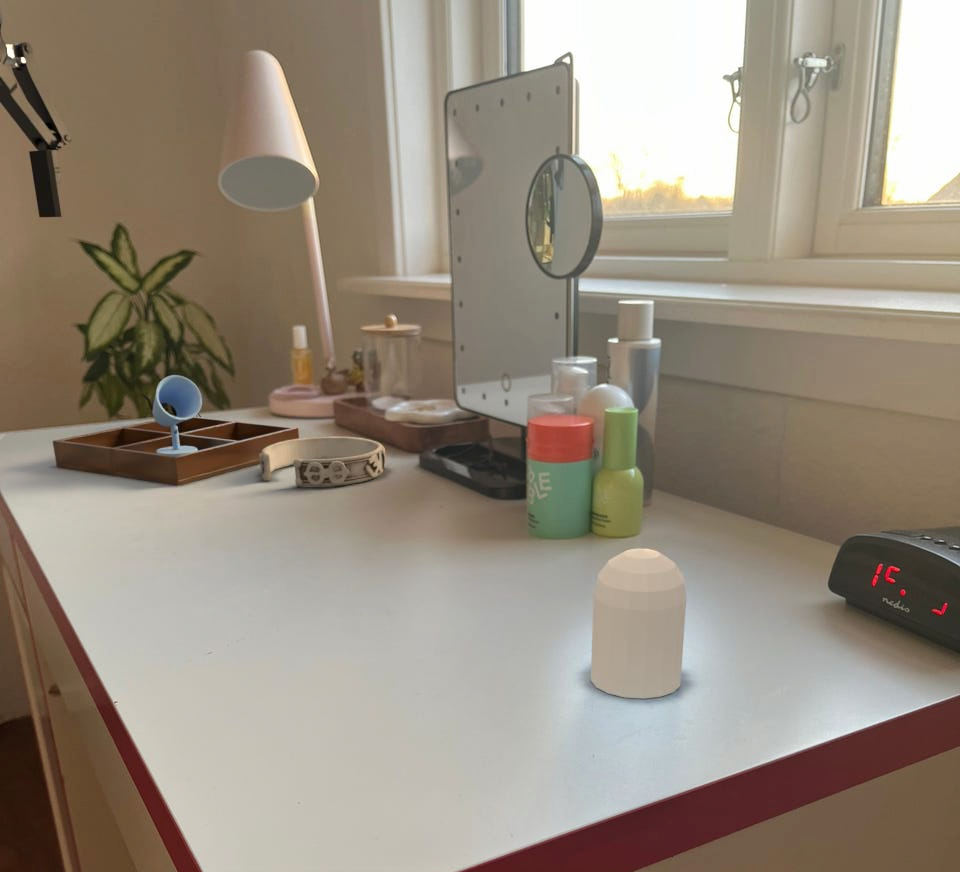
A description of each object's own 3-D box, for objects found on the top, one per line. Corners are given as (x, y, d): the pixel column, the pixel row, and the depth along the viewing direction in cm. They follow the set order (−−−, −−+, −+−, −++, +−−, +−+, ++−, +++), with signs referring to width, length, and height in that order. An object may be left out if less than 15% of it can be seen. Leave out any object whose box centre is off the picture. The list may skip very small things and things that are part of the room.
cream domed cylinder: (625, 655, 64) (631, 532, 61) (698, 678, 61) (708, 549, 58) (572, 680, 61) (575, 551, 58) (646, 706, 57) (653, 570, 54)
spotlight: (212, 467, 114) (190, 457, 119) (202, 375, 110) (179, 369, 116) (169, 473, 111) (148, 462, 117) (157, 379, 108) (136, 372, 113)
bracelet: (395, 483, 109) (394, 455, 108) (264, 491, 106) (262, 463, 105) (375, 457, 121) (374, 432, 120) (258, 464, 118) (255, 438, 117)
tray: (56, 466, 119) (52, 440, 117) (183, 438, 134) (180, 415, 133) (178, 485, 109) (175, 457, 108) (300, 452, 125) (298, 427, 124)
